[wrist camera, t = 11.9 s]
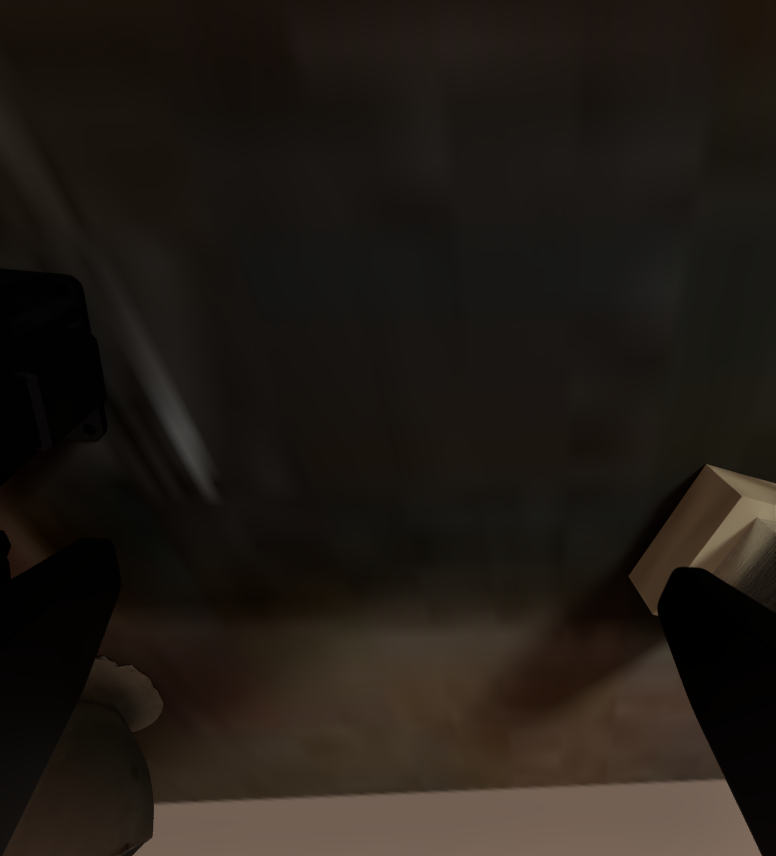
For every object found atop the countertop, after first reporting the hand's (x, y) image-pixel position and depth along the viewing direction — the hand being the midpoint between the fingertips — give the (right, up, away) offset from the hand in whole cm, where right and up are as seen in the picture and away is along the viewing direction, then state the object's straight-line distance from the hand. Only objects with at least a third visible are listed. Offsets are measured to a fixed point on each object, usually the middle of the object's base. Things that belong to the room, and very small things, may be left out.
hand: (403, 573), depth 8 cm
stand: (+16, -3, +17) cm, 24 cm away
